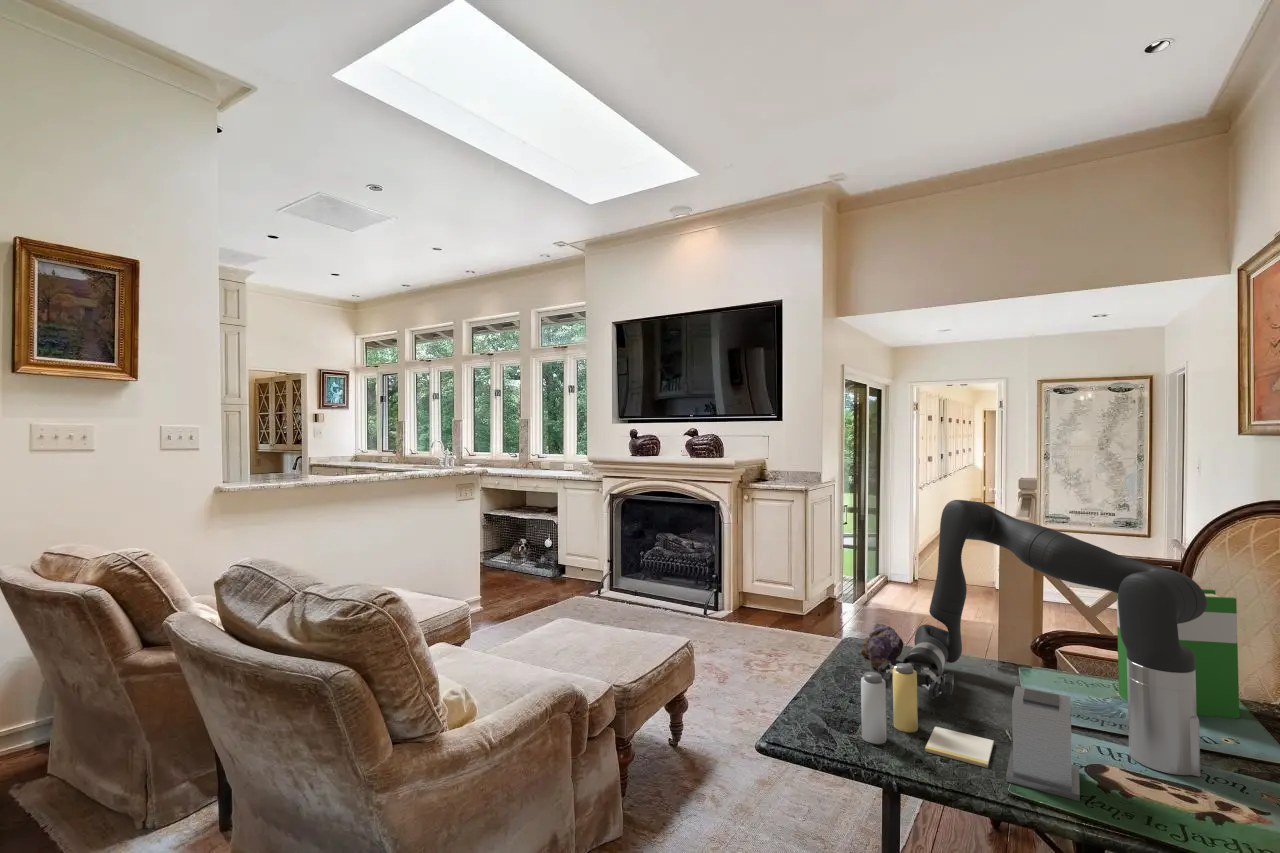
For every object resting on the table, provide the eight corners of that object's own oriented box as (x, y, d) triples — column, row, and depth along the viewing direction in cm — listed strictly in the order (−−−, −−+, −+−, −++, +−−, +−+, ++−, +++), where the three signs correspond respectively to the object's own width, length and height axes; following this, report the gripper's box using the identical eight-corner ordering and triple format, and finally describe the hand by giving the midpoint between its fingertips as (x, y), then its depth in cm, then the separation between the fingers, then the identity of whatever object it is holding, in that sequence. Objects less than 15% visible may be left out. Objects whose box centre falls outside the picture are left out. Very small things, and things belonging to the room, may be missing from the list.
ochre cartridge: (919, 725, 122) (918, 664, 123) (915, 734, 119) (914, 672, 119) (896, 719, 125) (895, 660, 125) (891, 728, 121) (890, 667, 121)
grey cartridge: (889, 736, 118) (887, 673, 118) (883, 746, 115) (882, 681, 115) (865, 730, 121) (864, 669, 121) (859, 739, 117) (857, 676, 117)
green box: (1215, 702, 131) (1212, 589, 131) (1239, 718, 124) (1236, 598, 124) (1118, 694, 135) (1116, 585, 136) (1136, 709, 128) (1133, 593, 128)
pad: (993, 743, 115) (993, 740, 115) (987, 767, 107) (987, 764, 107) (935, 729, 121) (935, 726, 121) (925, 751, 112) (925, 747, 112)
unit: (1079, 772, 105) (1077, 693, 105) (1079, 801, 97) (1077, 715, 97) (1010, 755, 111) (1009, 680, 111) (1006, 781, 103) (1004, 700, 103)
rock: (864, 673, 152) (907, 676, 150) (863, 641, 151) (907, 643, 149) (859, 650, 163) (899, 651, 161) (858, 619, 162) (899, 621, 160)
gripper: (890, 641, 142) (871, 663, 129) (959, 653, 133) (946, 677, 120) (891, 673, 142) (872, 699, 128) (960, 687, 133) (947, 716, 120)
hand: (908, 688), depth 124 cm, fingers open, 8 cm apart
